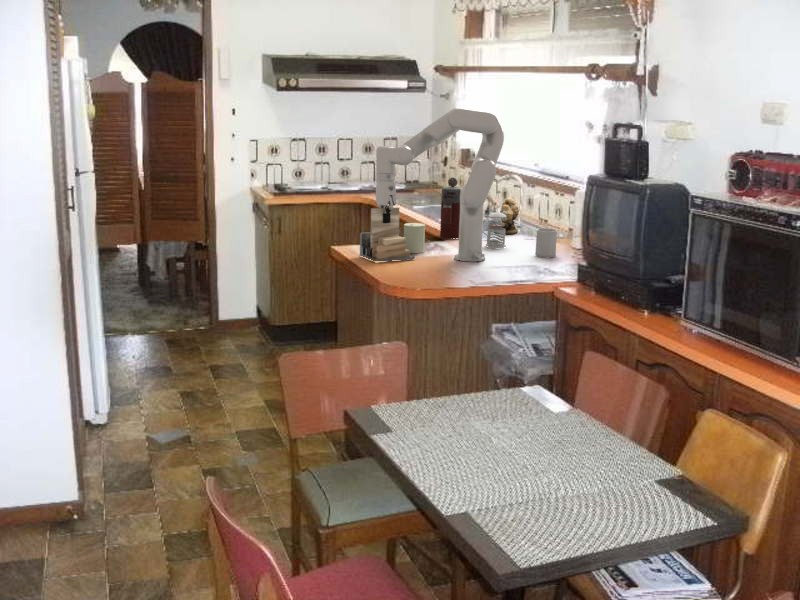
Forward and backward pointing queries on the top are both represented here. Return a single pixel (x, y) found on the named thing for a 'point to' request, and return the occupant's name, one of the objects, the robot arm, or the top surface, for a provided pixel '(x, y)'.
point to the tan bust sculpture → (509, 216)
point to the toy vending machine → (450, 210)
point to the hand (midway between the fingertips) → (385, 222)
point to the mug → (546, 243)
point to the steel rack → (367, 250)
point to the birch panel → (383, 224)
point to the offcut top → (392, 241)
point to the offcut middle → (388, 248)
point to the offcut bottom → (391, 254)
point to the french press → (496, 231)
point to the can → (414, 237)
